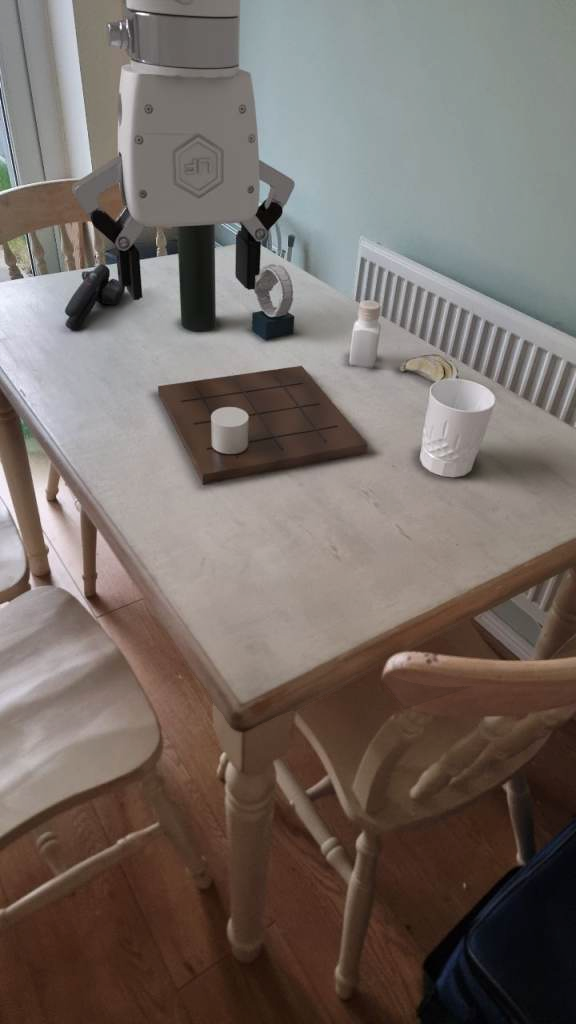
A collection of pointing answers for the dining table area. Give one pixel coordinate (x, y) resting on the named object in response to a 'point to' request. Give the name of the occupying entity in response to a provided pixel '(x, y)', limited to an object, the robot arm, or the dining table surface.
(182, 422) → the board
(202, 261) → the wine bottle
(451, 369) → the oyster shell
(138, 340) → the dining table surface
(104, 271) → the can opener
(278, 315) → the watch
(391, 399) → the dining table surface
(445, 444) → the white cup
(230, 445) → the white cylinder
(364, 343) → the pepper shaker
